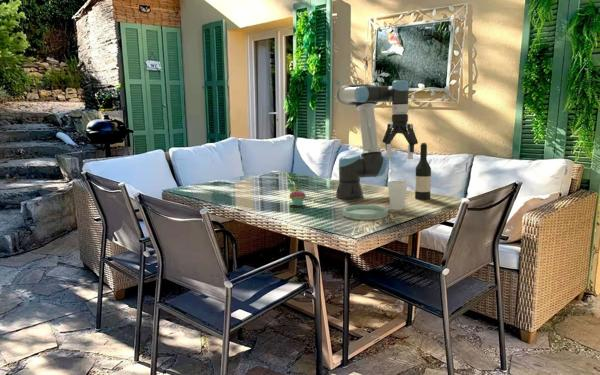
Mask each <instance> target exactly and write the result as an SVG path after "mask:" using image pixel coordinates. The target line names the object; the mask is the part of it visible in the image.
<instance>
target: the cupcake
mask: <svg viewBox="0 0 600 375" xmlns="http://www.w3.org/2000/svg"><path fill="white" fill-rule="evenodd" d="M293 189H294V191H291V193H290V194H289V199H291V201H292V204H293V205H294V206H302V205H303V203H304V200H305V199H306V198H307V196H306V195H307V194H306V193H305V192H304V191H302V190H296V183H295V182H293Z"/></svg>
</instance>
